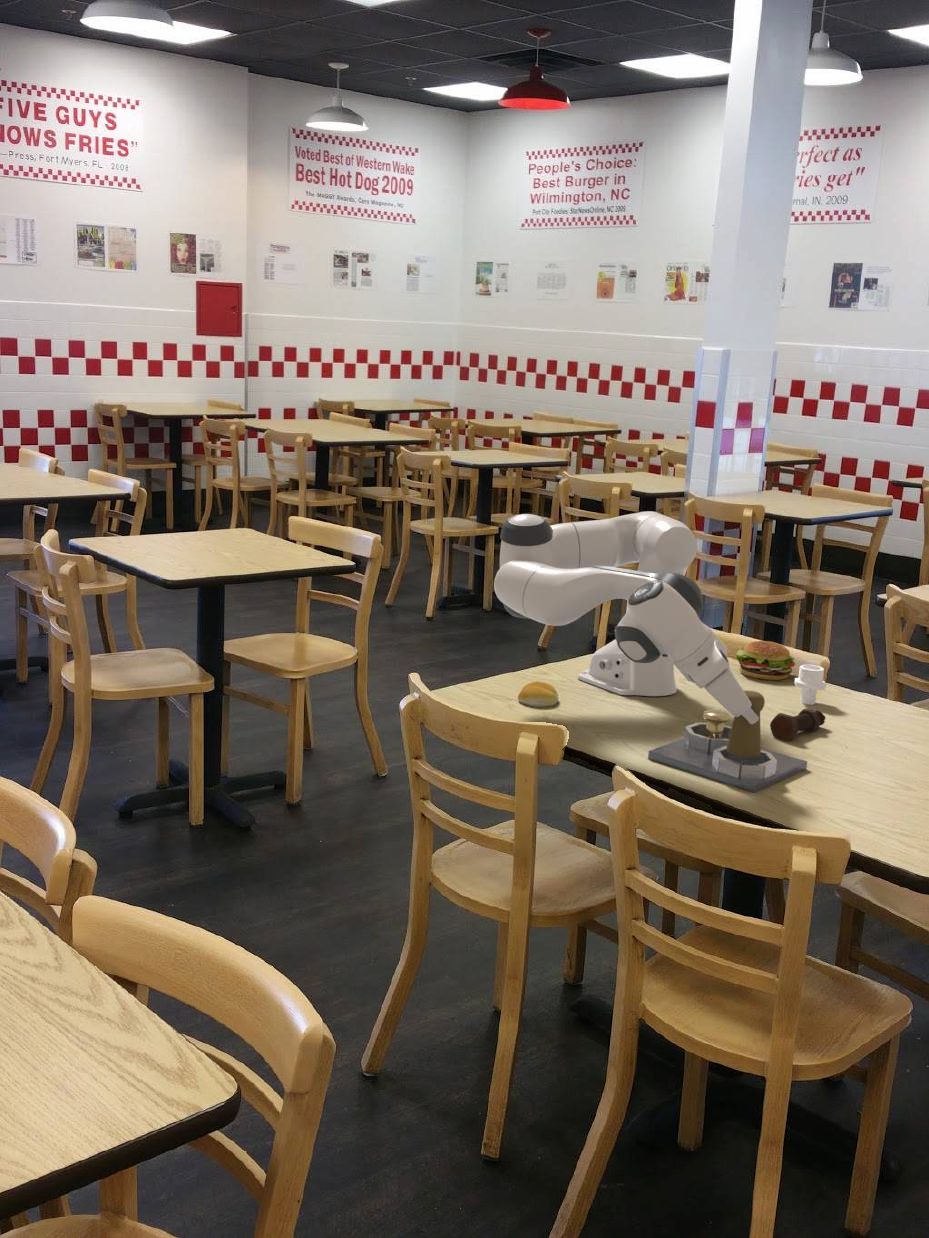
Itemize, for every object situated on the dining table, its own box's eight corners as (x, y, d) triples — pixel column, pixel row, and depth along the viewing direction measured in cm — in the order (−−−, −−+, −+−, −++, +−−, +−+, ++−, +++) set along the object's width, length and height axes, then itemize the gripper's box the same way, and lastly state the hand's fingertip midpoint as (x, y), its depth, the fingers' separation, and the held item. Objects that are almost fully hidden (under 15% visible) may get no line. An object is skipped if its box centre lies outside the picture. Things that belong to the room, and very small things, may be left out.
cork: (740, 758, 207) (748, 698, 205) (718, 747, 212) (725, 688, 210) (767, 755, 210) (775, 695, 207) (745, 744, 215) (752, 686, 212)
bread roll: (515, 705, 248) (516, 687, 247) (523, 694, 256) (524, 676, 256) (554, 710, 246) (555, 691, 245) (560, 699, 255) (562, 681, 254)
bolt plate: (647, 758, 219) (651, 719, 217) (702, 738, 233) (706, 701, 231) (754, 792, 204) (759, 751, 203) (806, 769, 218) (811, 730, 217)
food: (747, 663, 295) (751, 632, 293) (801, 675, 286) (805, 643, 284) (721, 672, 284) (725, 640, 282) (776, 685, 276) (780, 652, 274)
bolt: (820, 736, 245) (782, 747, 235) (802, 719, 248) (764, 729, 237) (836, 716, 242) (799, 726, 232) (818, 699, 245) (781, 708, 234)
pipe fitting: (830, 705, 261) (834, 670, 259) (802, 707, 258) (806, 671, 257) (812, 697, 267) (817, 663, 265) (785, 698, 264) (789, 664, 262)
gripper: (680, 654, 218) (727, 709, 220) (696, 684, 198) (748, 745, 200) (707, 632, 217) (754, 688, 219) (725, 661, 197) (778, 721, 199)
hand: (751, 715), depth 209 cm, fingers closed on cork, 5 cm apart
